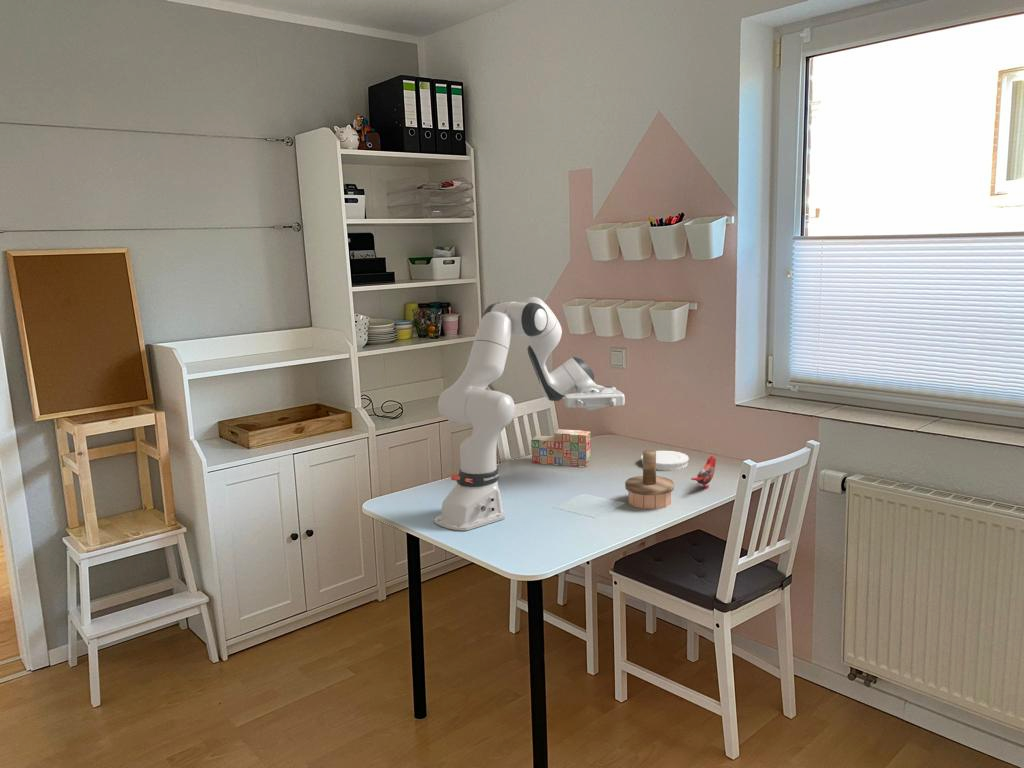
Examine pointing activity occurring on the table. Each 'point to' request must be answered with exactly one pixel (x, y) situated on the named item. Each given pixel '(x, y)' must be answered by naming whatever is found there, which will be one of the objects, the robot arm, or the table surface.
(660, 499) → the terracotta bowl
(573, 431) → the stack of blocks
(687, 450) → the table surface
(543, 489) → the table surface
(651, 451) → the walnut lid
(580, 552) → the table surface
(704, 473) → the decorative bird figurine
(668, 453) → the lid
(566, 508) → the rubber mat
